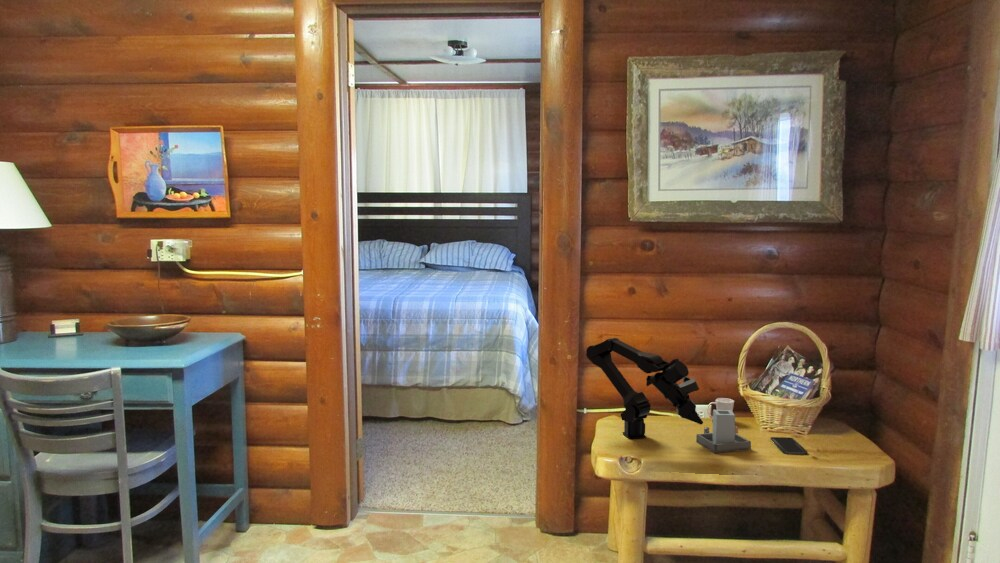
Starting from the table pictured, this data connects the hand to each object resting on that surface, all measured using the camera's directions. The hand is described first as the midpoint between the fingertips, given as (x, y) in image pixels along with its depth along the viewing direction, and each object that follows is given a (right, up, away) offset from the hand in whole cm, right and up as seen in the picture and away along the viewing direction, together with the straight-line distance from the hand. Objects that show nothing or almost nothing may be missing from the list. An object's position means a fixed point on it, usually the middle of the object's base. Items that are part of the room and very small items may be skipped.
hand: (699, 419), depth 224 cm
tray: (+8, -9, 0) cm, 12 cm away
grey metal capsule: (+6, -8, +10) cm, 14 cm away
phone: (+30, -10, -1) cm, 32 cm away
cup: (+17, -7, +28) cm, 33 cm away
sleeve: (+8, -8, 0) cm, 12 cm away
